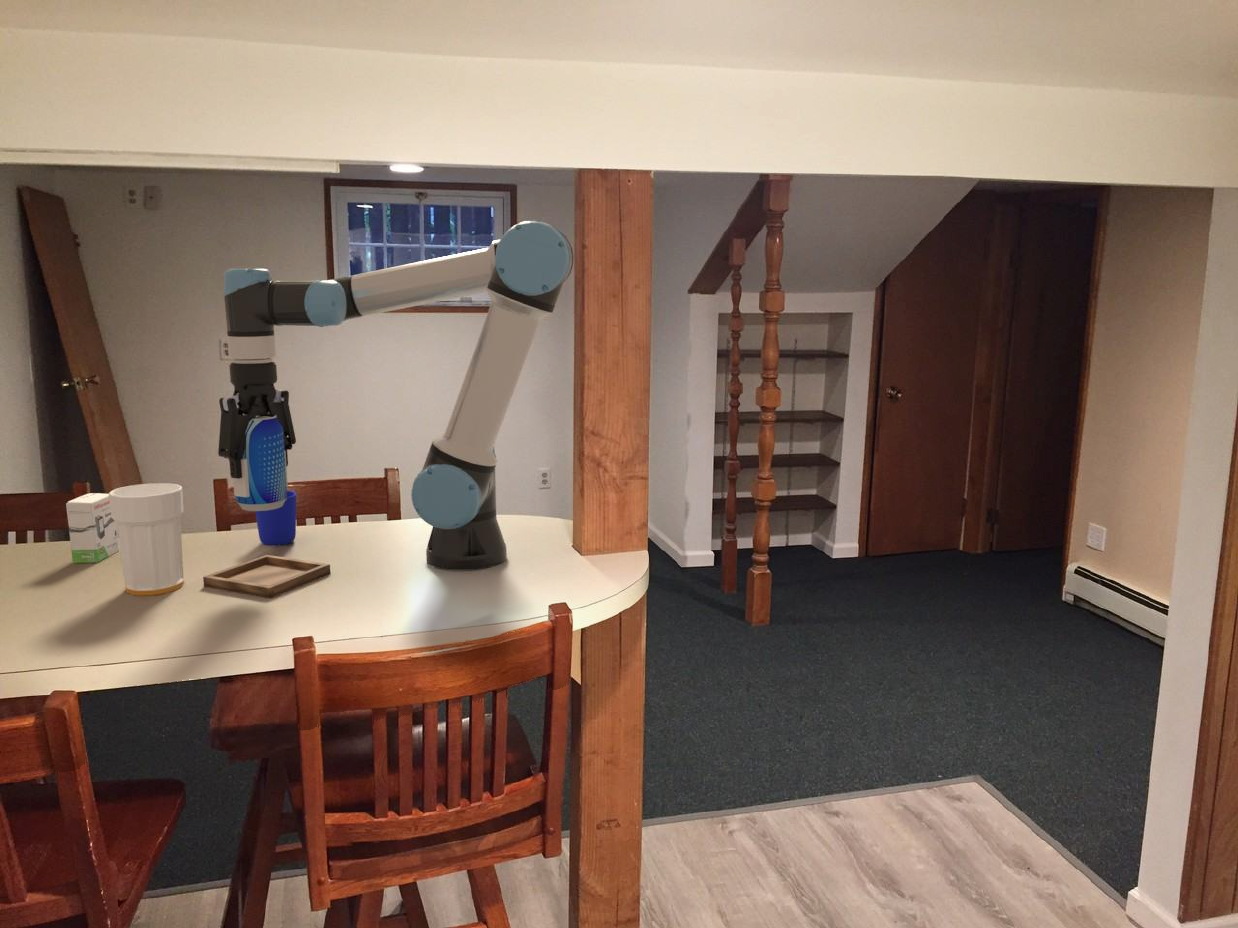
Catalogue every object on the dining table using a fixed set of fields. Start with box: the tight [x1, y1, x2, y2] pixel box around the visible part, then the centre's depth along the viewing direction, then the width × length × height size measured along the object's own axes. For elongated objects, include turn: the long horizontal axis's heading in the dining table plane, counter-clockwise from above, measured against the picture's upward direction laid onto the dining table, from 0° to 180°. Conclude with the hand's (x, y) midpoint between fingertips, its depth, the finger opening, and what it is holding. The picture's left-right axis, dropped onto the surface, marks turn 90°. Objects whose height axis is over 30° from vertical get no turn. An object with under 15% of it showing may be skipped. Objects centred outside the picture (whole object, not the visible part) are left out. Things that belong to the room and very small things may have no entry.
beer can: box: [235, 415, 288, 512], centre depth 170 cm, size 8×8×16 cm
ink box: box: [65, 492, 120, 564], centre depth 187 cm, size 9×5×12 cm, turn 0°
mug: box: [254, 490, 297, 547], centre depth 199 cm, size 8×12×10 cm
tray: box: [202, 554, 331, 599], centre depth 173 cm, size 15×15×2 cm
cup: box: [108, 482, 185, 597], centre depth 168 cm, size 11×11×17 cm
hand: (261, 490), depth 170 cm, fingers closed on beer can, 8 cm apart
